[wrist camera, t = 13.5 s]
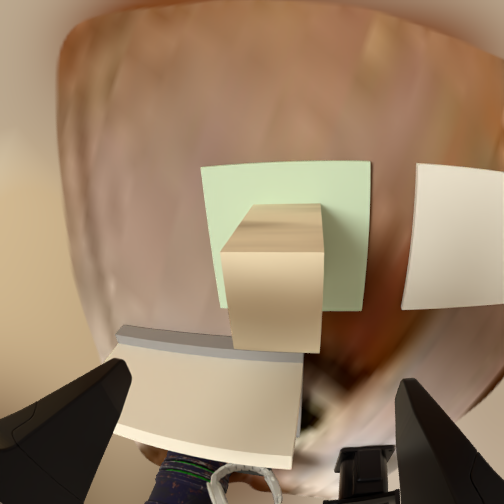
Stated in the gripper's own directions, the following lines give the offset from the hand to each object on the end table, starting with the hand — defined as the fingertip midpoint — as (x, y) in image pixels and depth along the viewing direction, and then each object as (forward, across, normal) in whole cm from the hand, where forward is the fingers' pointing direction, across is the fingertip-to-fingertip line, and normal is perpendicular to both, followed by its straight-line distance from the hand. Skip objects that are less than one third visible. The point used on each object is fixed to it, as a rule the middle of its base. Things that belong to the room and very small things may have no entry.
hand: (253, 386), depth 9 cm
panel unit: (+12, +7, +14) cm, 20 cm away
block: (+11, 0, 0) cm, 11 cm away
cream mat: (+12, -13, 0) cm, 18 cm away
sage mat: (+12, 0, 0) cm, 12 cm away
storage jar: (+12, +13, +34) cm, 38 cm away
